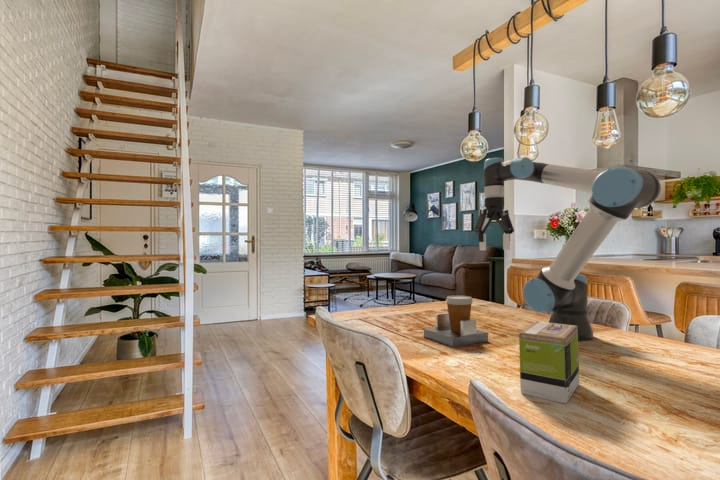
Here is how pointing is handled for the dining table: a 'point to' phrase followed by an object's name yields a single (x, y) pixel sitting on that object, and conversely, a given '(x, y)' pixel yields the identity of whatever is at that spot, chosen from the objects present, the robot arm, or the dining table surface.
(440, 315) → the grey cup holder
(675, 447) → the dining table surface
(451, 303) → the disposable coffee cup
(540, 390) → the tea box
